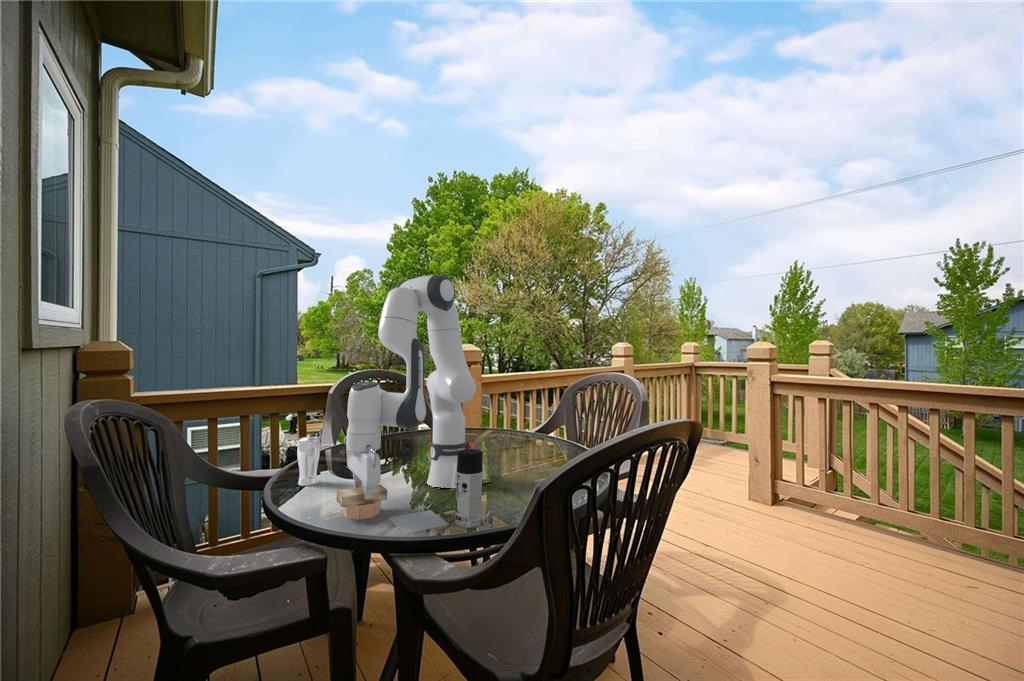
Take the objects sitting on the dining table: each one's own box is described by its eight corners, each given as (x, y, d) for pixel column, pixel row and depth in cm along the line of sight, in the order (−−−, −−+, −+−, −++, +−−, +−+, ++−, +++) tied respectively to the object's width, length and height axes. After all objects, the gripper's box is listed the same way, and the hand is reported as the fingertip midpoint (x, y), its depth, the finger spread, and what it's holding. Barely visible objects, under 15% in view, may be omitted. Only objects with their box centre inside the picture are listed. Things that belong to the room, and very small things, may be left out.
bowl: (373, 510, 134) (374, 492, 134) (383, 520, 127) (383, 502, 127) (340, 516, 129) (341, 497, 129) (349, 527, 122) (349, 507, 122)
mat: (430, 515, 131) (430, 510, 131) (449, 530, 121) (449, 524, 121) (388, 523, 125) (388, 517, 125) (404, 540, 115) (404, 533, 115)
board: (380, 493, 134) (380, 484, 134) (387, 499, 129) (387, 490, 129) (336, 500, 127) (336, 490, 127) (341, 507, 122) (342, 497, 122)
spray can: (455, 523, 126) (457, 448, 126) (480, 522, 127) (482, 448, 127) (454, 533, 120) (456, 454, 120) (481, 533, 120) (483, 454, 120)
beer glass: (323, 480, 161) (324, 437, 161) (312, 487, 154) (313, 441, 154) (303, 479, 162) (304, 436, 162) (292, 486, 155) (293, 440, 155)
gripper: (387, 448, 121) (386, 502, 121) (365, 434, 138) (364, 481, 138) (362, 451, 118) (361, 506, 118) (342, 436, 135) (341, 484, 135)
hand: (362, 493), depth 128 cm, fingers open, 8 cm apart
